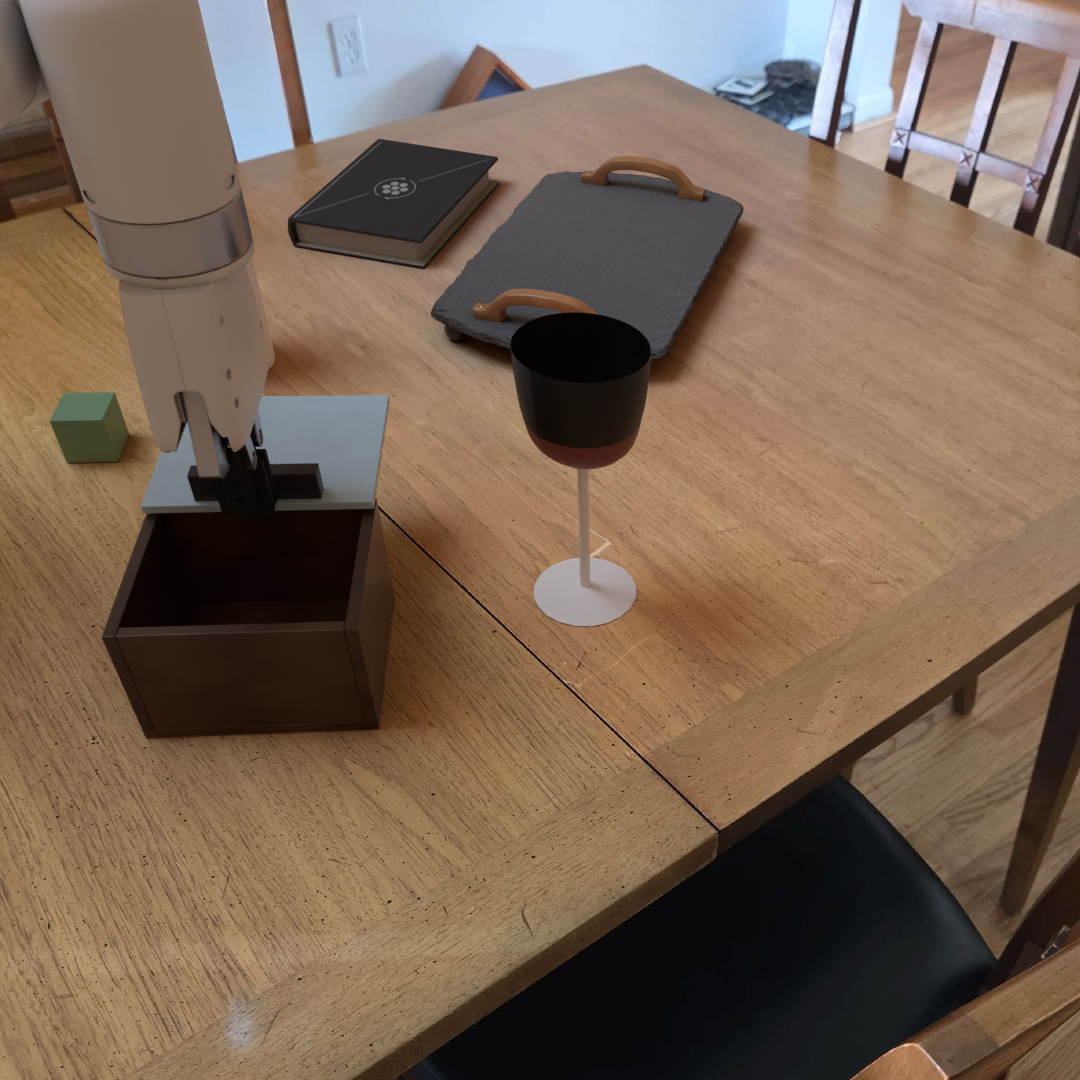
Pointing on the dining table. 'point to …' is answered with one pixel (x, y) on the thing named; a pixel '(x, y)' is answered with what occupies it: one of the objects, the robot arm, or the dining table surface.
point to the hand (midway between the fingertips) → (251, 508)
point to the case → (254, 623)
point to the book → (395, 203)
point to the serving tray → (595, 254)
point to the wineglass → (582, 438)
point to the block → (89, 427)
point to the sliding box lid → (292, 457)
